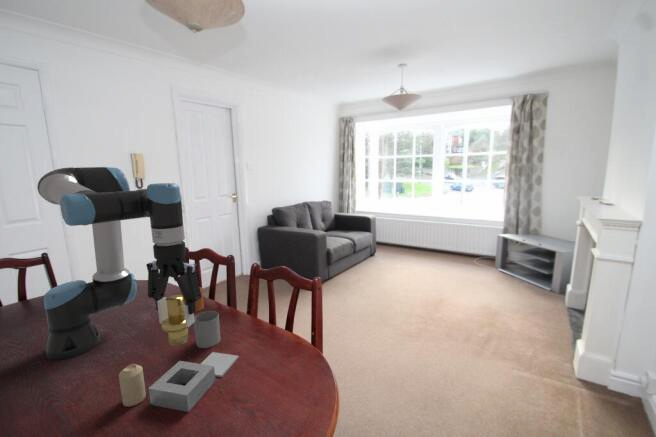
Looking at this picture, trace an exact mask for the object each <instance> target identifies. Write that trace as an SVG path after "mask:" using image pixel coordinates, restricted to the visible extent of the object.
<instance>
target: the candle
mask: <svg viewBox="0 0 656 437" xmlns="http://www.w3.org/2000/svg"><path fill="white" fill-rule="evenodd" d="M144 377H145V376H144V369H143V366H141V365H139V364H135V362H134V363H130V364H129V365H128V366H126V367H125V368H123V369H122V370H121V371H119V374H118V380H119V381H118V382H119V388H120V393H121V394H120V396H121V401H122V405H123V406H124V407H128V408H129V407H133V406H136V405H138V404H140V403H142V402H143V401H144V400H145V399H146V396H147V395H146V394H147V393H146V392H147V391H146V384H145V378H144Z"/></svg>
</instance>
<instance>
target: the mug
mask: <svg viewBox="0 0 656 437" xmlns="http://www.w3.org/2000/svg"><path fill="white" fill-rule="evenodd" d="M199 287H200V292H201V296H202V297H201V298H200V299H199V300H197V301H196V302H195V307H196V308H195V309H196V311H195V313H198V312H200V311H201V310H203V309H204V308H205V305H204V304H205V303H204V292H203V291H204V290H203V287H201V286H199ZM178 295H182V296H183V294H182V292H181V291H179V294H178ZM185 303H186V301H185V299H184V296H183V304H185Z"/></svg>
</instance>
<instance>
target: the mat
mask: <svg viewBox="0 0 656 437" xmlns="http://www.w3.org/2000/svg"><path fill="white" fill-rule="evenodd" d="M238 359H239V355H234V354H228V353H221V352H215V351H212V352H211V353H210V354H209V355H208V356H207V357H206V358H205V359H204V360H203V361H202V362H200V364H203V365H210V366H214V371H215V377H219V378H223V377H224V375H225V374H226V373H227V372H228V371H229V370H230V369H231V367H232V366H233V365H234V364H235V362H236V361H237V360H238Z"/></svg>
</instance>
